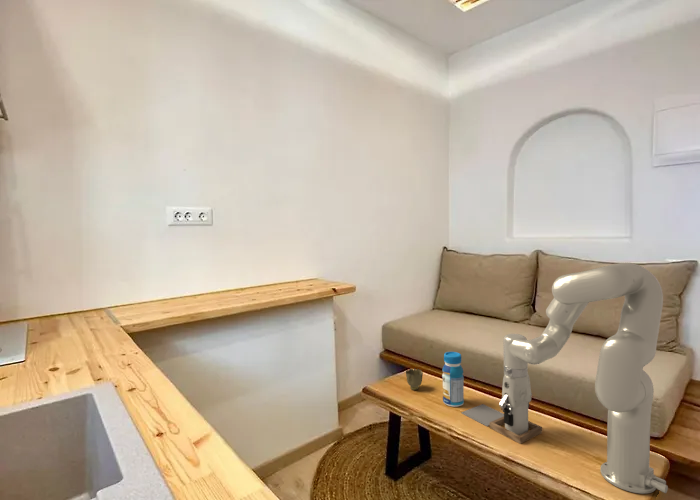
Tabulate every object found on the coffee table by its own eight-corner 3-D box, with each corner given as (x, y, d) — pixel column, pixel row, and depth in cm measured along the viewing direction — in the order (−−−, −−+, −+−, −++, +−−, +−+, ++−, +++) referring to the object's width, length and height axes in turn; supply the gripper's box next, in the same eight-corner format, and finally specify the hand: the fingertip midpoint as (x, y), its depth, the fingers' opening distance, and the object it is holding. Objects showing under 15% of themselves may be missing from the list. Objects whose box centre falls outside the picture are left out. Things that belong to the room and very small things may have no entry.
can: (530, 437, 129) (530, 401, 129) (507, 435, 131) (506, 400, 130) (525, 425, 137) (525, 392, 136) (503, 424, 138) (502, 391, 137)
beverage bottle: (460, 409, 150) (460, 358, 149) (439, 404, 155) (438, 355, 153) (466, 400, 157) (466, 352, 156) (446, 396, 162) (445, 349, 161)
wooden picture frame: (542, 432, 132) (542, 427, 132) (520, 443, 126) (520, 437, 126) (511, 418, 142) (511, 413, 142) (489, 427, 136) (489, 422, 136)
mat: (509, 417, 143) (509, 416, 143) (487, 426, 137) (487, 425, 137) (482, 404, 153) (482, 403, 153) (461, 413, 147) (461, 412, 147)
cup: (403, 386, 173) (403, 368, 173) (419, 384, 174) (419, 367, 174) (409, 393, 166) (409, 375, 165) (425, 391, 167) (425, 373, 167)
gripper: (508, 380, 125) (509, 433, 126) (541, 368, 134) (541, 418, 135) (489, 373, 131) (490, 423, 132) (521, 362, 140) (522, 410, 141)
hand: (516, 420), depth 133 cm, fingers closed on can, 7 cm apart
